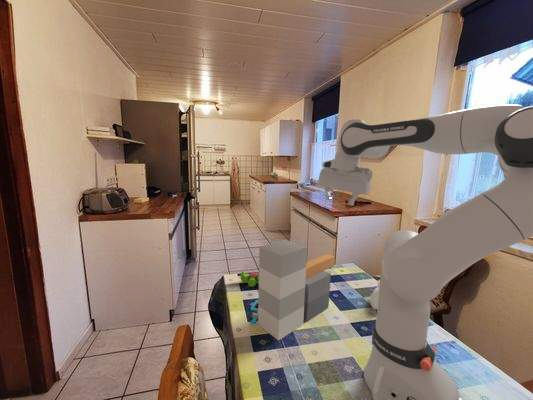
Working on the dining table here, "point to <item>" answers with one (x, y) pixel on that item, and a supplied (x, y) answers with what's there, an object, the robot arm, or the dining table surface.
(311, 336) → the dining table surface
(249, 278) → the toy crocodile
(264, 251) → the tall tower
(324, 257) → the orange block
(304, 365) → the dining table surface
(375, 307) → the bust
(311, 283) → the grey box
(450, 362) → the dining table surface
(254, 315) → the gear mechanism
